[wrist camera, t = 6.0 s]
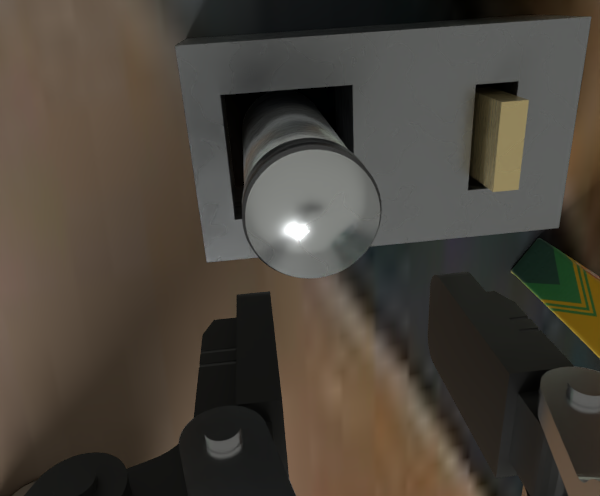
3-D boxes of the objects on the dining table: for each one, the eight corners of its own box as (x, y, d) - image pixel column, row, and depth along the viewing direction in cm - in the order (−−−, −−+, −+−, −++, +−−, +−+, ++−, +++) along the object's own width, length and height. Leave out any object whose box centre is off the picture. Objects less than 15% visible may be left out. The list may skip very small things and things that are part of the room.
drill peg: (244, 175, 30) (249, 287, 18) (236, 90, 28) (234, 154, 16) (326, 168, 30) (382, 274, 19) (323, 84, 28) (383, 141, 17)
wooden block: (446, 157, 30) (492, 191, 24) (450, 83, 28) (501, 101, 23) (467, 155, 30) (518, 189, 25) (473, 81, 28) (528, 99, 23)
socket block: (211, 224, 31) (206, 262, 26) (185, 38, 27) (175, 45, 22) (513, 196, 32) (558, 227, 28) (534, 14, 28) (591, 16, 24)
